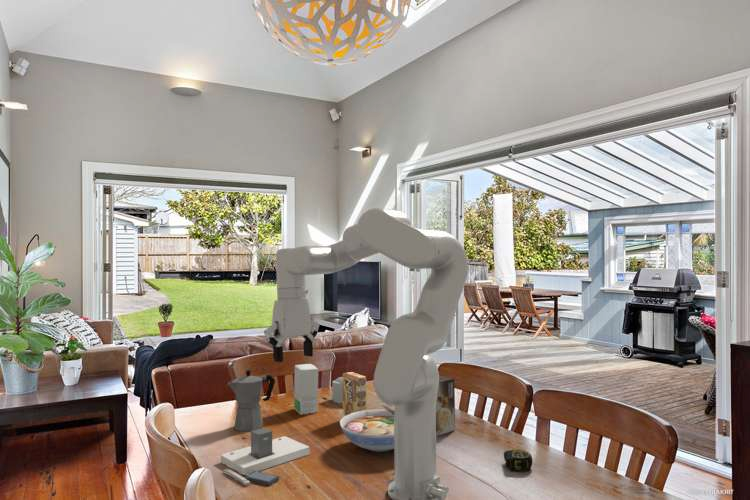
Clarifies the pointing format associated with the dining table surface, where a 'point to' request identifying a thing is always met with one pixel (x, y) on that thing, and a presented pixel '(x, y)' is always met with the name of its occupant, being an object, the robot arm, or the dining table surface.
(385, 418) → the ramen bowl
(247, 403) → the coffeepot
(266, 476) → the phone
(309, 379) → the skincare box
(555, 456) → the dining table surface
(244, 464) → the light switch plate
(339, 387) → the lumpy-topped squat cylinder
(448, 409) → the coffee box
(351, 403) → the candy box
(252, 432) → the block
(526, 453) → the tape measure
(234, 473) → the grey thin stick
